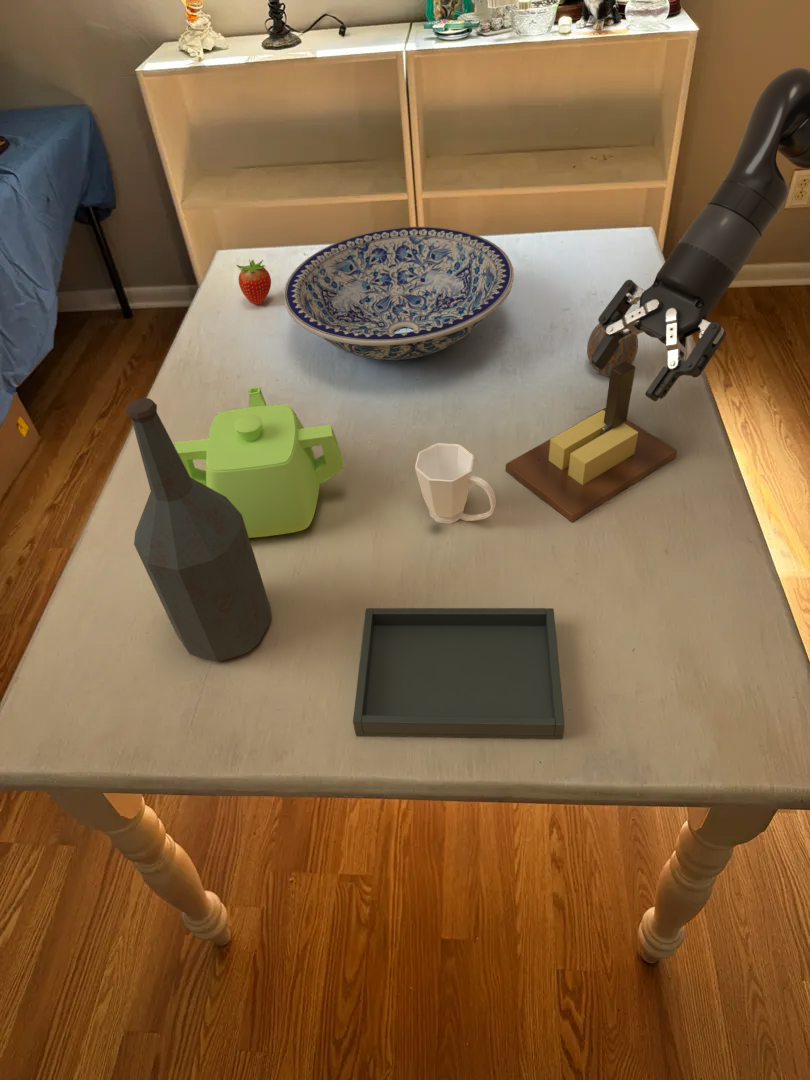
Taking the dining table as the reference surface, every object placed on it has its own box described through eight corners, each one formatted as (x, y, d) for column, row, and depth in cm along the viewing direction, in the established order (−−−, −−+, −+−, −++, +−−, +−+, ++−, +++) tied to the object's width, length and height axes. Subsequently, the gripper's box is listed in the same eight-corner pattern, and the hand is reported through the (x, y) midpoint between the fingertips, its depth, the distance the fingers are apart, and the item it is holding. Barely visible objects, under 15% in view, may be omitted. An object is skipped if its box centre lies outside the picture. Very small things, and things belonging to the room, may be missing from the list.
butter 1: (599, 430, 102) (602, 409, 99) (613, 440, 100) (617, 418, 98) (548, 460, 99) (550, 439, 96) (562, 470, 97) (564, 449, 95)
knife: (617, 435, 101) (630, 357, 92) (627, 442, 100) (640, 363, 91) (595, 449, 100) (606, 371, 91) (604, 455, 99) (616, 377, 90)
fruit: (253, 294, 135) (243, 250, 129) (280, 297, 134) (271, 253, 128) (238, 310, 132) (227, 265, 126) (266, 314, 130) (256, 269, 124)
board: (606, 413, 106) (607, 406, 105) (676, 457, 99) (677, 450, 98) (505, 471, 100) (505, 463, 99) (572, 522, 93) (572, 515, 92)
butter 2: (619, 444, 100) (623, 422, 97) (634, 453, 98) (638, 432, 96) (567, 474, 97) (570, 453, 94) (582, 485, 95) (585, 463, 93)
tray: (551, 623, 83) (553, 607, 81) (562, 739, 74) (564, 725, 72) (368, 622, 85) (365, 607, 83) (356, 736, 75) (352, 722, 73)
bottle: (263, 580, 90) (194, 357, 68) (281, 646, 83) (211, 422, 61) (173, 607, 88) (73, 386, 66) (185, 676, 82) (78, 457, 60)
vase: (643, 365, 113) (652, 311, 107) (617, 388, 110) (626, 333, 103) (601, 349, 116) (608, 296, 110) (575, 371, 113) (581, 317, 107)
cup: (436, 484, 99) (433, 434, 93) (507, 511, 95) (509, 460, 89) (407, 519, 95) (402, 469, 89) (480, 548, 91) (480, 498, 85)
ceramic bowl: (347, 268, 139) (340, 212, 132) (536, 293, 129) (540, 234, 122) (254, 378, 118) (239, 319, 110) (472, 418, 108) (471, 356, 100)
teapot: (199, 455, 106) (171, 375, 97) (345, 439, 106) (332, 357, 97) (185, 555, 93) (151, 473, 84) (351, 536, 94) (337, 452, 84)
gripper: (770, 295, 87) (680, 419, 92) (670, 251, 96) (592, 366, 100) (751, 267, 82) (656, 400, 86) (646, 222, 90) (565, 346, 94)
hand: (622, 382), depth 93 cm, fingers open, 8 cm apart
